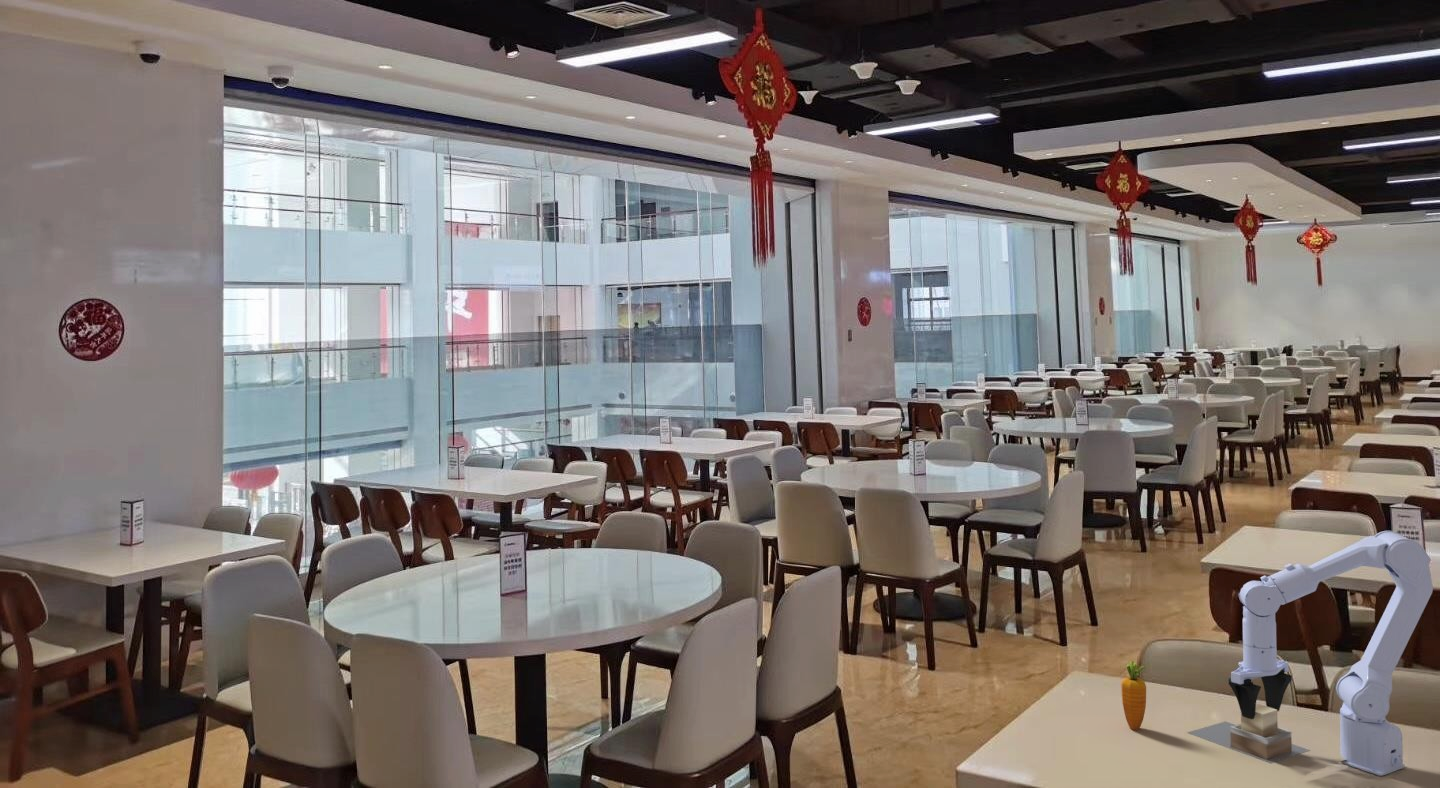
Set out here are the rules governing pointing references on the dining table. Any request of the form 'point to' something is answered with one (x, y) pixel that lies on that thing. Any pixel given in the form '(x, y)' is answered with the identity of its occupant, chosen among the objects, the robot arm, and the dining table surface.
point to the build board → (1222, 737)
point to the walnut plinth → (1261, 743)
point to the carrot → (1134, 697)
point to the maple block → (1261, 722)
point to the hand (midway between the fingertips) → (1260, 713)
